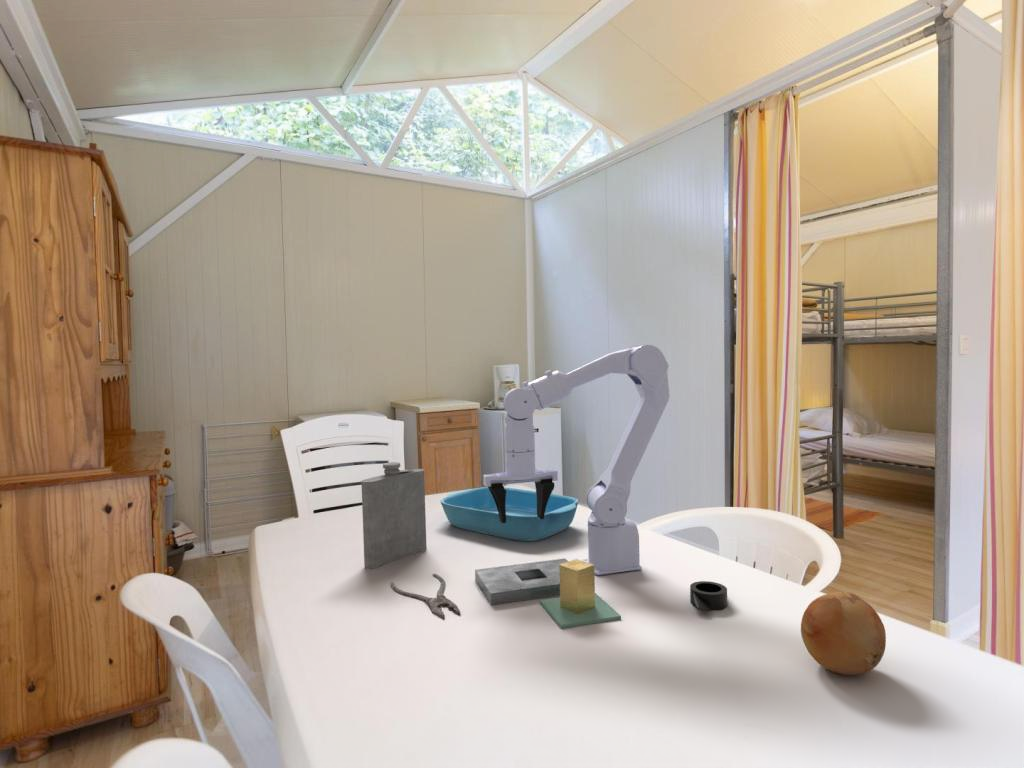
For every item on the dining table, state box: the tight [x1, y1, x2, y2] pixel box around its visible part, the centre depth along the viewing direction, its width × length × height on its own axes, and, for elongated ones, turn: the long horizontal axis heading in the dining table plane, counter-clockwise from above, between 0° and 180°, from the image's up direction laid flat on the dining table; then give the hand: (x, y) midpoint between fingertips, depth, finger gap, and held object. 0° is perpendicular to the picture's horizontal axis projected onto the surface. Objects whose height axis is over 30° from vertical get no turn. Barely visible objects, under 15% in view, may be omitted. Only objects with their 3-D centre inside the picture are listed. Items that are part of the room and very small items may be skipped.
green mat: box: [539, 592, 622, 629], centre depth 97 cm, size 10×10×1 cm
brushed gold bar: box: [559, 558, 596, 614], centre depth 97 cm, size 4×4×7 cm
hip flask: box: [361, 461, 427, 570], centre depth 126 cm, size 16×4×20 cm, turn 141°
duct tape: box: [689, 580, 728, 613], centre depth 99 cm, size 8×10×3 cm
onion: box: [800, 591, 887, 676], centre depth 77 cm, size 10×10×10 cm
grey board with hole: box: [474, 558, 570, 606], centre depth 109 cm, size 18×12×2 cm, turn 106°
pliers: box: [390, 573, 461, 620], centre depth 106 cm, size 10×1×20 cm
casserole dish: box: [440, 486, 579, 542], centre depth 148 cm, size 37×22×7 cm, turn 51°
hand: (521, 519), depth 116 cm, fingers open, 7 cm apart
